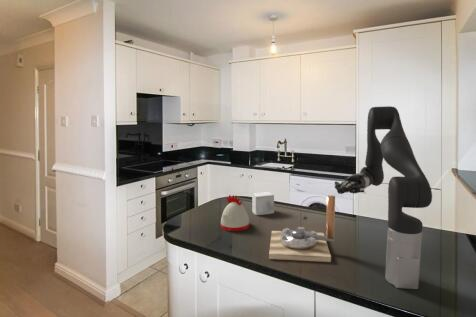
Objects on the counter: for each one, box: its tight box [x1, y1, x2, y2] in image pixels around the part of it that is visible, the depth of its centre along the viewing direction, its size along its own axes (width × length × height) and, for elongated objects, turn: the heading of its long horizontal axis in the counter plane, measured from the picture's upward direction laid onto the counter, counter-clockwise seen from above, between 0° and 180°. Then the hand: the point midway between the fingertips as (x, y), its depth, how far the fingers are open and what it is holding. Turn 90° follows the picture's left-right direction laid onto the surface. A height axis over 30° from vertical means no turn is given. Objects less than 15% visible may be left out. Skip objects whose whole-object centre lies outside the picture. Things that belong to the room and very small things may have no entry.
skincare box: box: [251, 191, 275, 216], centre depth 162 cm, size 10×6×10 cm, turn 106°
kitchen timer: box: [220, 194, 251, 232], centre depth 144 cm, size 14×14×15 cm
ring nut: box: [280, 195, 336, 250], centre depth 117 cm, size 20×14×20 cm
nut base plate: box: [268, 230, 332, 263], centre depth 120 cm, size 22×22×2 cm
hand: (339, 191), depth 117 cm, fingers closed
